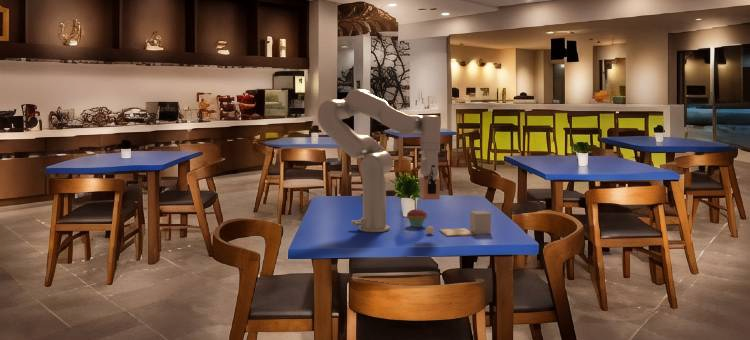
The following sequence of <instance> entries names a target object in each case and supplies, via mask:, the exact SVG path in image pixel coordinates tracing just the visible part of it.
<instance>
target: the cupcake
mask: <svg viewBox="0 0 750 340" xmlns="http://www.w3.org/2000/svg"><path fill="white" fill-rule="evenodd" d="M427 217H428V214H427V213H426V211H424V210H423V209H417V199H416V198H414V209H412V210H409V211H408V212H407V214H406V218H407V219H408V221H409V223H410V227H413V228H420V227H423V224H424V221H425V219H427Z"/></svg>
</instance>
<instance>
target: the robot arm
mask: <svg viewBox="0 0 750 340" xmlns="http://www.w3.org/2000/svg"><path fill="white" fill-rule="evenodd" d="M360 113H361V114H363V115H365V116H367V117H368V118H369V117H370V118H371V119H374V120H376V121H377V122H378V123H381V124H382V125H384V126H385V127H388V129H391V130H394V131H396V132H398V133H400V134H403V135H412V134H419V133H420V151H421V154H420V155H421V156H420V168H419V169H420V171H419V172H420V175H422V176H423V177H428V180H429V184H428V194H436V178H438V177H437V176H438V175H439V153H438V152H441V151H440V150H441V117H440V116H438V115H431V114H430V115H426V114H425V115H419V114H406V113H404V112H402V111H399V110H397V109H395V108H393V107H392V106H390V104H389V103H388V101H386V100H385V99H383V98H380V97H378V96H376V95H374V94H373V92H371V91H370V90H368V89H364V88H360V89H359V88H355V89H352V90H349V92H348V93H347V95H346V97H343V98H340V99H337V98H334V99H333V98H332V99H331V98H330V99H327V100H323V101H322V102H321V103H320V104H319V107H318V110H317V120H318V123H319V126H320V127H321V128H322V130H323V131H324V132H325V134H327V136H329V138H331V139H332V140H333V141H334V143H336V144H337V145H338V146H339V147H340V148H341V149H342V150H343V151H344V152H345V153H346V154H347V155H348V156H349V157H350V158H353V159H360V158H362V160H361V161H360V174H361V179H362V181H361V182H362V217H361V219H358V220H351V226H358V229H359V230H360V232H361V231H362V232H365V233H381V232H383V233H384V232H387V231H390V225H388V224H387V185H386V183H387V182H386V177H385V174H388V173H389V172H390V171H391V170H392V169H393V167H394V159H393V157H392V155H391V154H390V153H389V152H388V150H386V149H385V148H384V147H383V146H382V145H381V144H380V143H378V142H377V140H376V139H374V138H373V137H371V136H370V135H367V134H358V133H357V132H356V131H354V130H353V129H352V128H351V127H350V126H349V125H348V124H347V123H345V122H343V121H342V120H345V119H348V118H350V117H353V116H356V115H358V114H360ZM430 178H431V179H430Z"/></svg>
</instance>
